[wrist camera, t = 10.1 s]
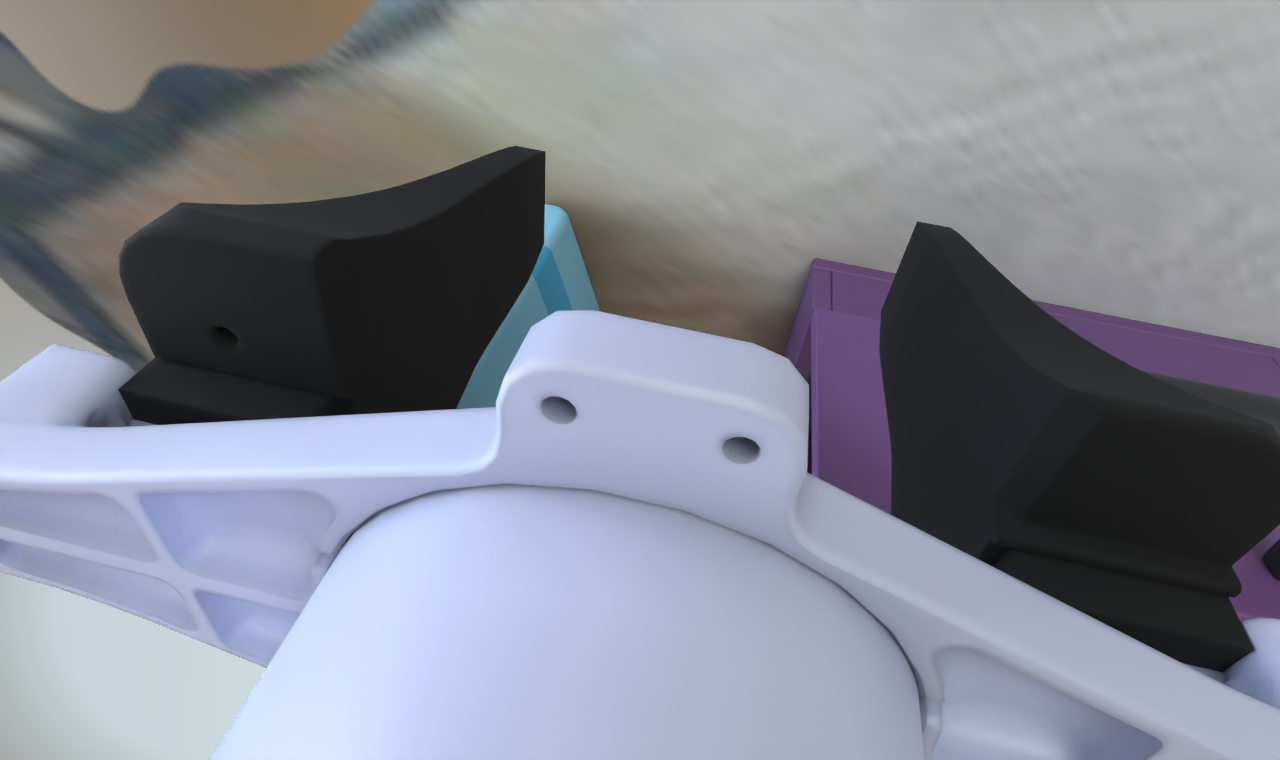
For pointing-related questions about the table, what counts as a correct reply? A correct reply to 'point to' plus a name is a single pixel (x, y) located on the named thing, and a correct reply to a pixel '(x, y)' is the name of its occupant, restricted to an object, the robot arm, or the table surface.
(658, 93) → the table surface
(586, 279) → the data package
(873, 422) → the cover
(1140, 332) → the purple box
